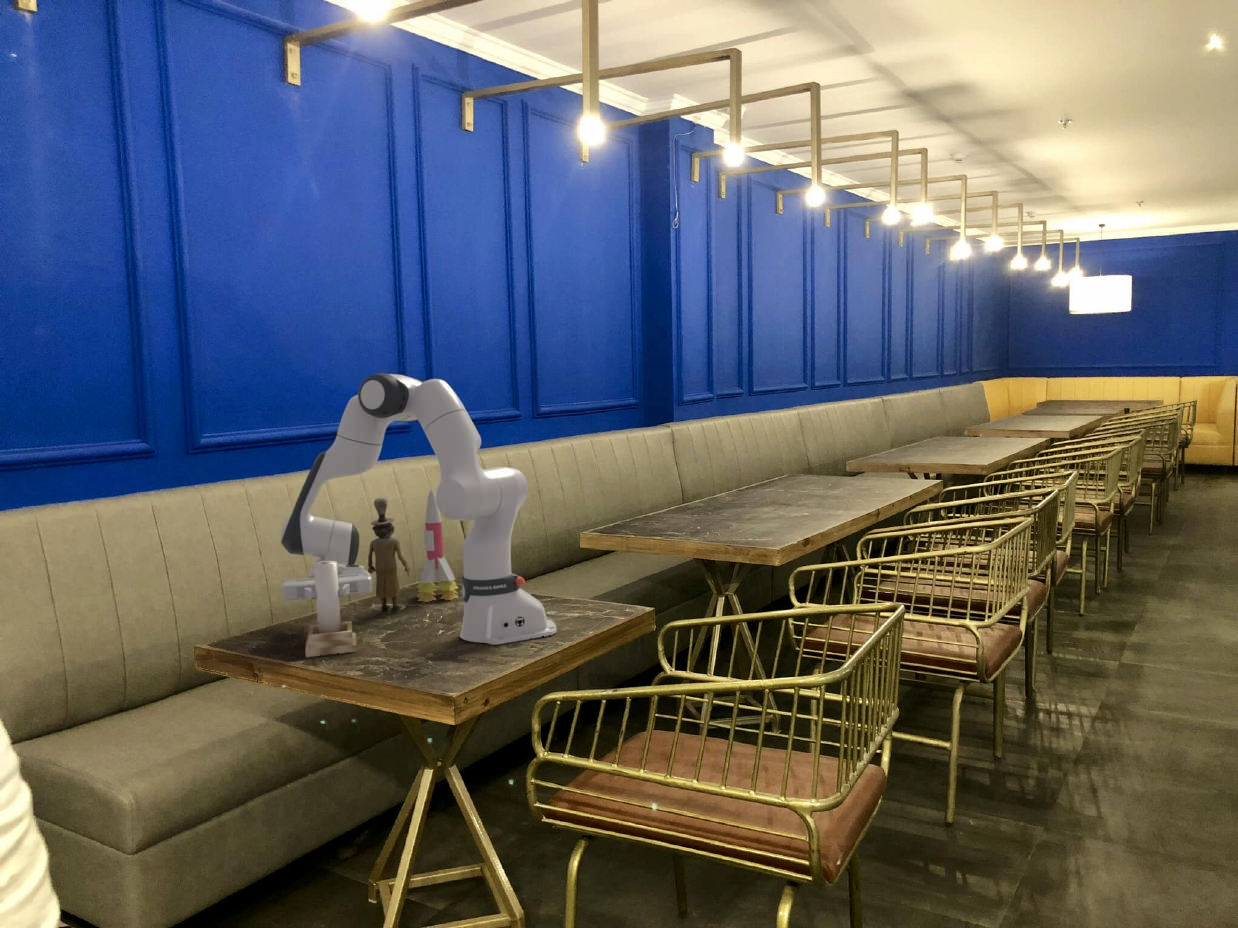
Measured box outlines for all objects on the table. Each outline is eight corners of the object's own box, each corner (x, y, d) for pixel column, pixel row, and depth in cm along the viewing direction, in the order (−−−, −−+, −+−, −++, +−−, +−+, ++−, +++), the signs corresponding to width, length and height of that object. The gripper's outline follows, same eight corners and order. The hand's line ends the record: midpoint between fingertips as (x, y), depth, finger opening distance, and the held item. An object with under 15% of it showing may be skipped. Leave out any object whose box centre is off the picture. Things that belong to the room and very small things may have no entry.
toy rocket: (435, 590, 280) (429, 485, 277) (468, 594, 274) (462, 487, 271) (406, 600, 270) (399, 491, 267) (439, 604, 264) (433, 493, 261)
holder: (355, 638, 233) (354, 620, 233) (356, 651, 223) (355, 631, 222) (307, 644, 230) (305, 625, 230) (305, 657, 220) (304, 637, 219)
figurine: (417, 605, 263) (411, 494, 260) (405, 615, 254) (398, 499, 251) (377, 606, 265) (370, 495, 261) (364, 615, 255) (356, 500, 252)
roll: (341, 627, 229) (336, 559, 227) (341, 633, 224) (336, 563, 223) (318, 630, 228) (314, 561, 226) (318, 635, 223) (313, 565, 221)
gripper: (281, 572, 234) (278, 584, 221) (370, 564, 240) (372, 576, 227) (283, 598, 235) (280, 612, 222) (371, 590, 241) (373, 603, 227)
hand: (327, 594), depth 224 cm, fingers closed on roll, 5 cm apart
